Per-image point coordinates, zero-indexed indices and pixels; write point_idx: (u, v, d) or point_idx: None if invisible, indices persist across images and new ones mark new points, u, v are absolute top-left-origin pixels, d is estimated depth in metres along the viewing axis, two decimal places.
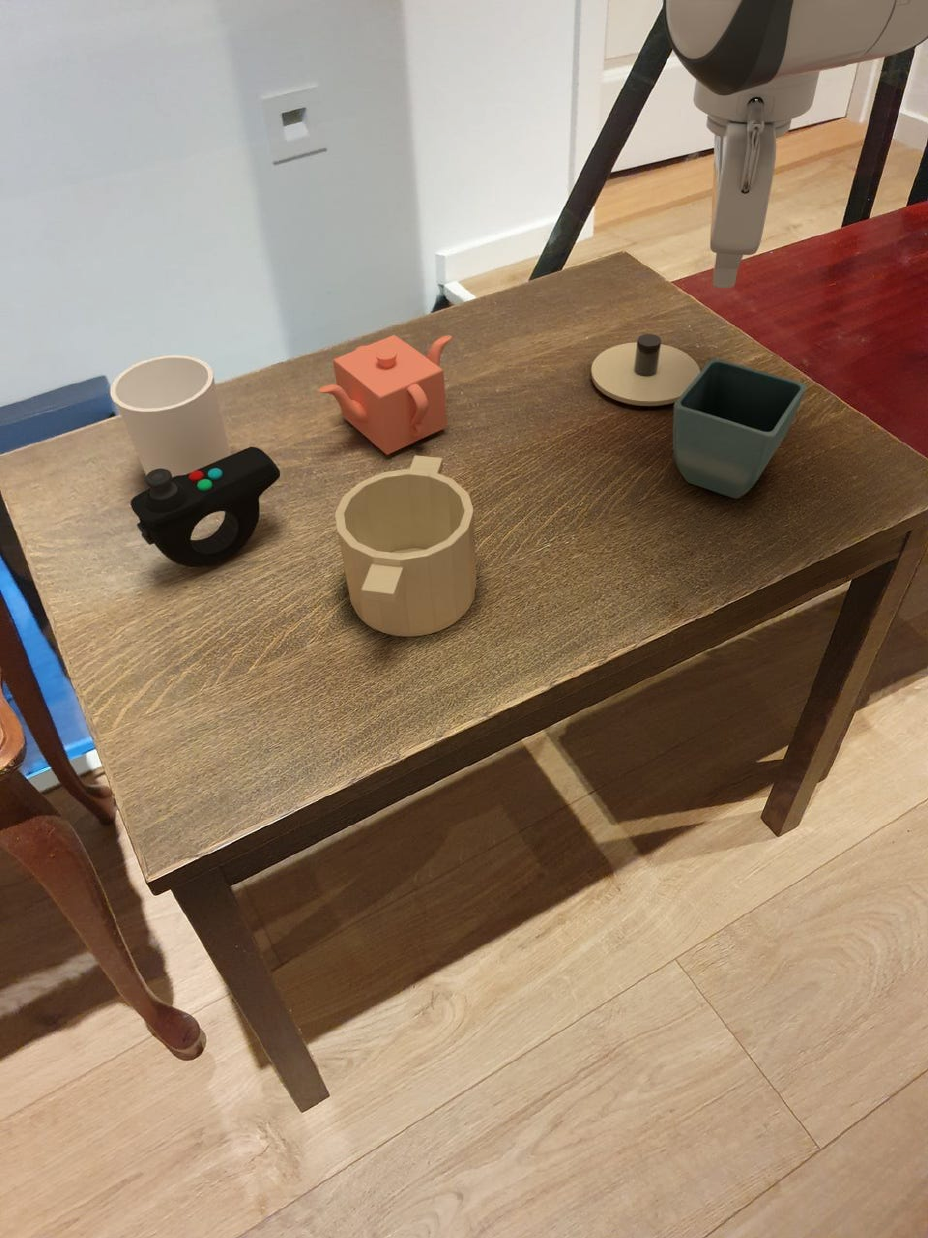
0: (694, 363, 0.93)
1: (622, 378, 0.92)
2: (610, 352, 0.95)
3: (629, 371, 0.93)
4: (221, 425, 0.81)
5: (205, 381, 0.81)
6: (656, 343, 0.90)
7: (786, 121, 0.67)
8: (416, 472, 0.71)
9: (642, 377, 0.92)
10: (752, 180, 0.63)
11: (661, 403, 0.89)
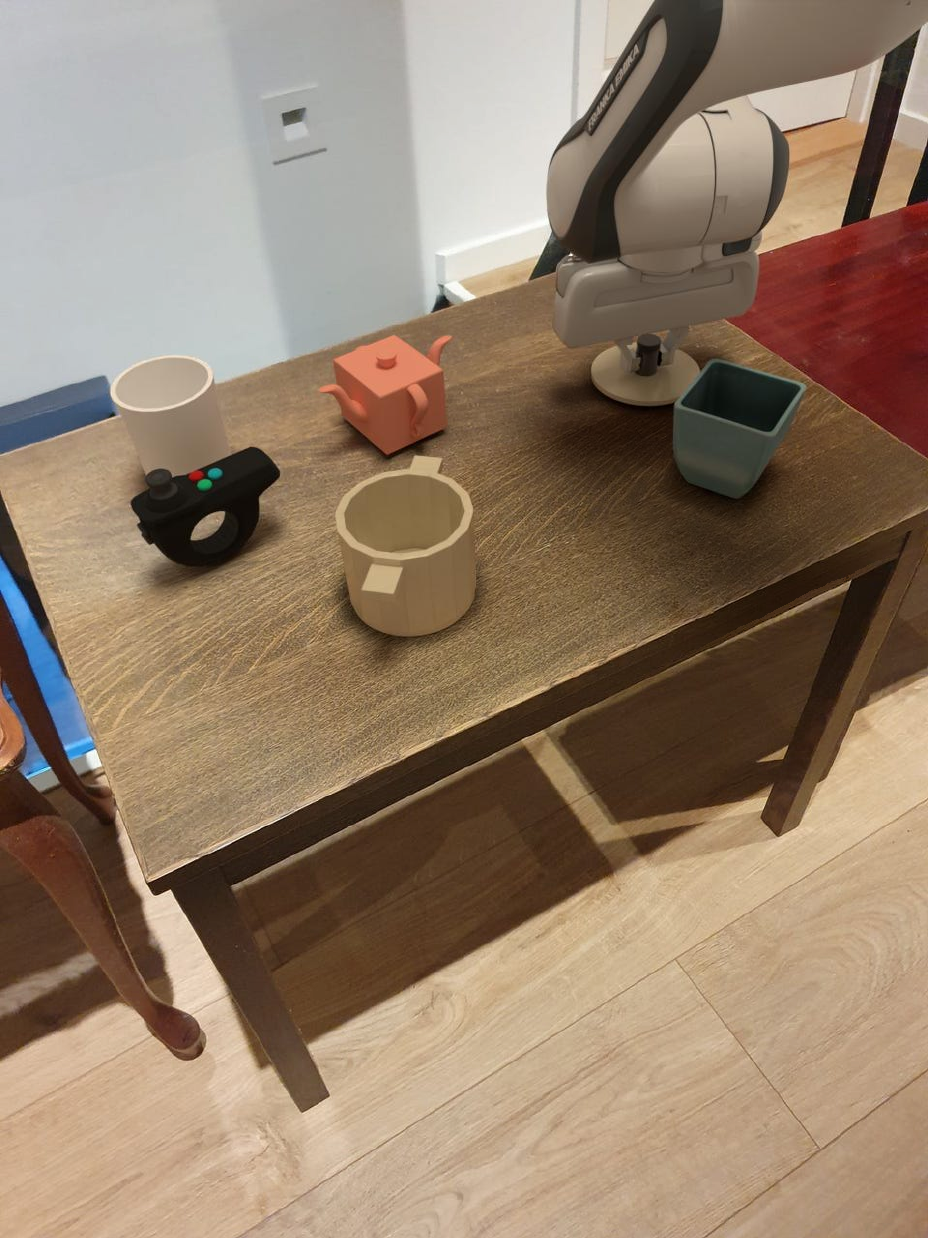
0: (694, 363, 0.93)
1: (622, 378, 0.92)
2: (610, 352, 0.95)
3: None
4: (221, 425, 0.81)
5: (205, 381, 0.81)
6: (655, 343, 0.90)
7: (655, 273, 0.82)
8: (416, 472, 0.71)
9: (642, 377, 0.92)
10: (557, 288, 0.83)
11: (661, 403, 0.89)
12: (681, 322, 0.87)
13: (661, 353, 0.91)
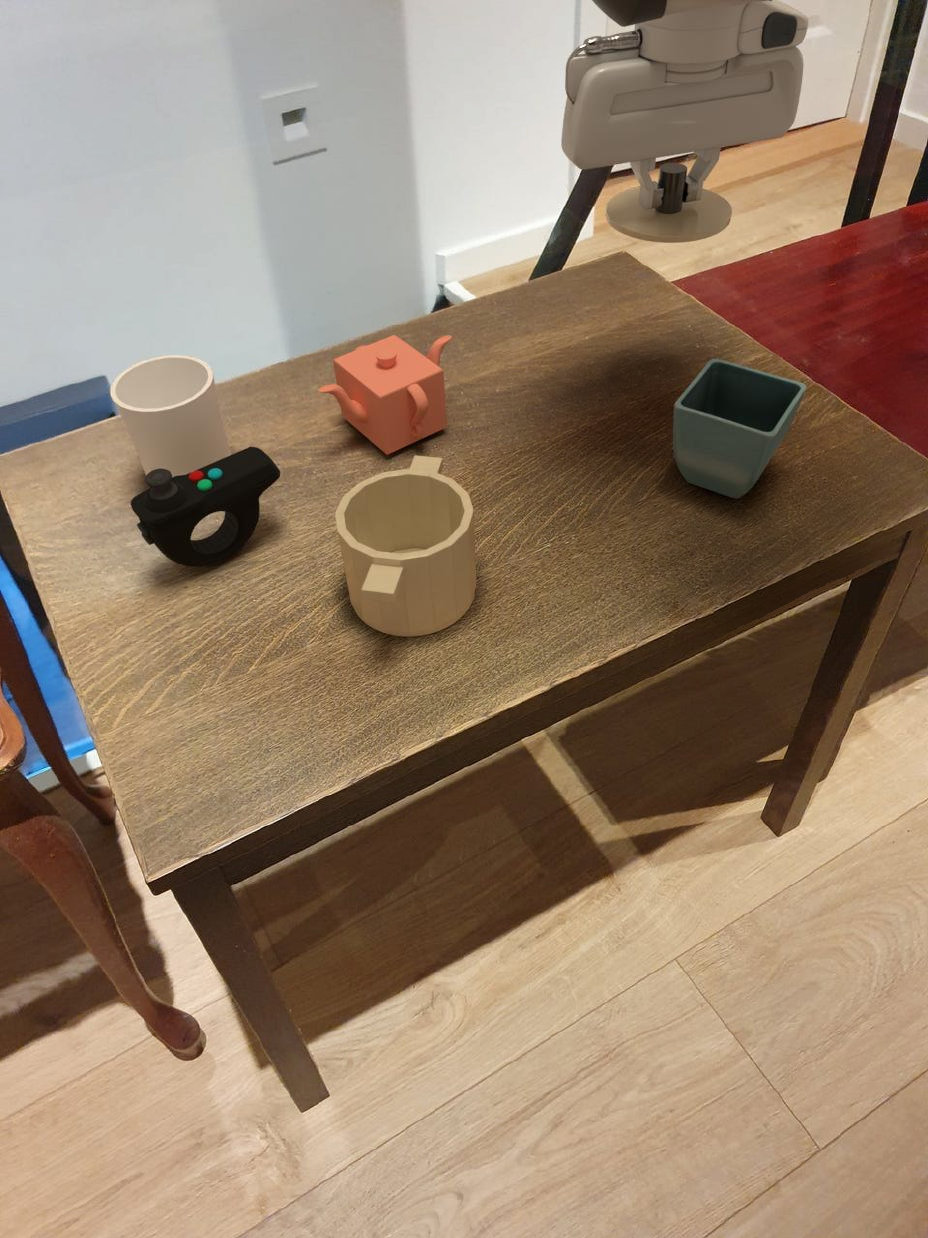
0: (724, 201, 0.81)
1: (641, 216, 0.80)
2: (628, 193, 0.83)
3: (650, 209, 0.80)
4: (221, 425, 0.81)
5: (205, 381, 0.81)
6: (681, 170, 0.77)
7: (682, 69, 0.70)
8: (416, 472, 0.71)
9: (665, 215, 0.80)
10: (568, 90, 0.71)
11: (687, 239, 0.77)
12: (711, 141, 0.75)
13: (687, 185, 0.79)
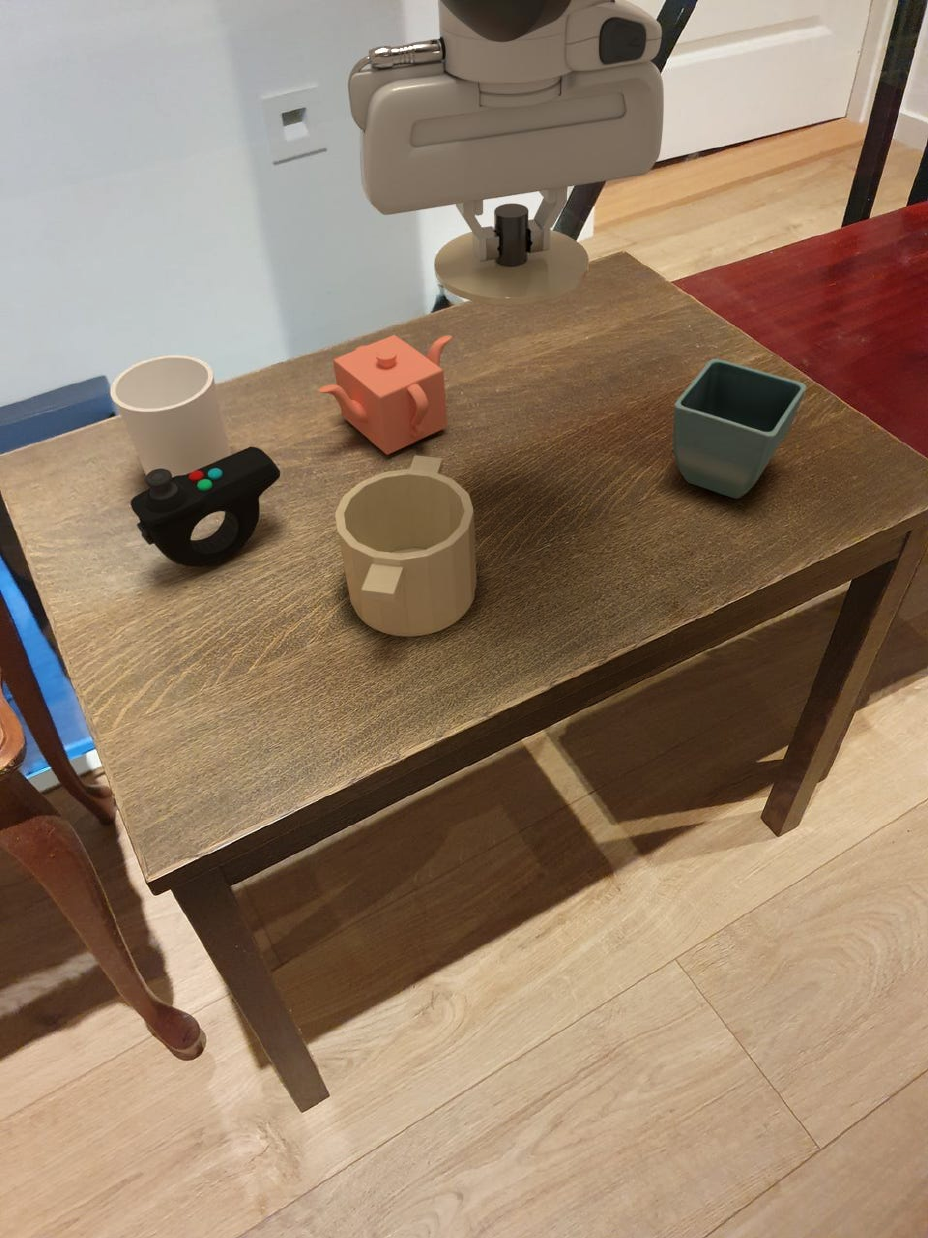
0: (582, 250, 0.65)
1: (475, 269, 0.64)
2: (467, 238, 0.67)
3: (488, 260, 0.65)
4: (221, 425, 0.81)
5: (205, 381, 0.81)
6: (519, 214, 0.61)
7: (498, 90, 0.54)
8: (416, 472, 0.71)
9: (504, 268, 0.64)
10: (354, 115, 0.55)
11: (526, 301, 0.61)
12: (552, 179, 0.59)
13: (530, 232, 0.63)
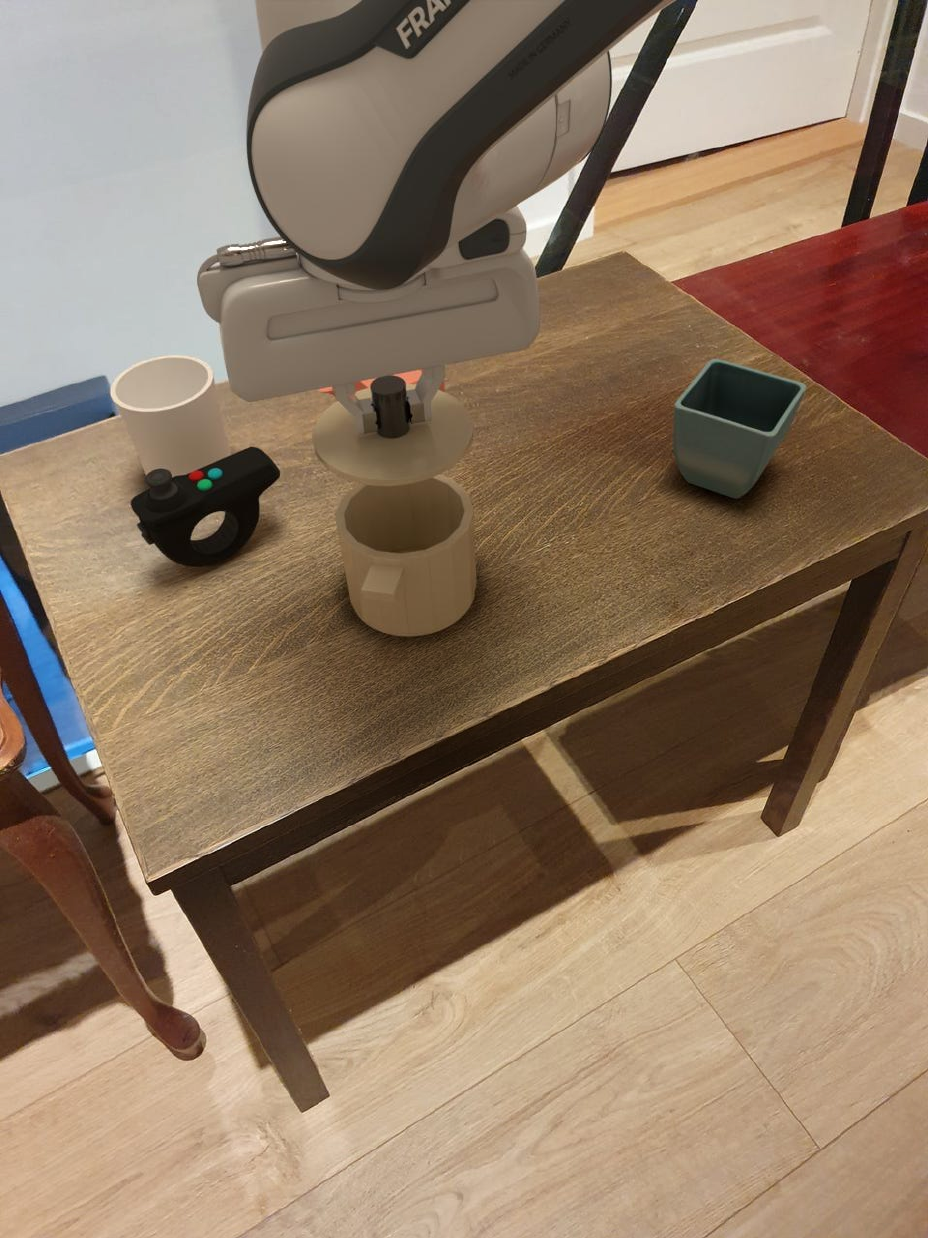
0: (467, 417, 0.63)
1: (354, 441, 0.61)
2: None
3: None
4: (221, 425, 0.81)
5: (205, 381, 0.81)
6: (395, 391, 0.59)
7: (355, 287, 0.51)
8: None
9: (384, 440, 0.61)
10: (206, 310, 0.52)
11: (402, 482, 0.59)
12: (425, 360, 0.57)
13: (409, 405, 0.60)
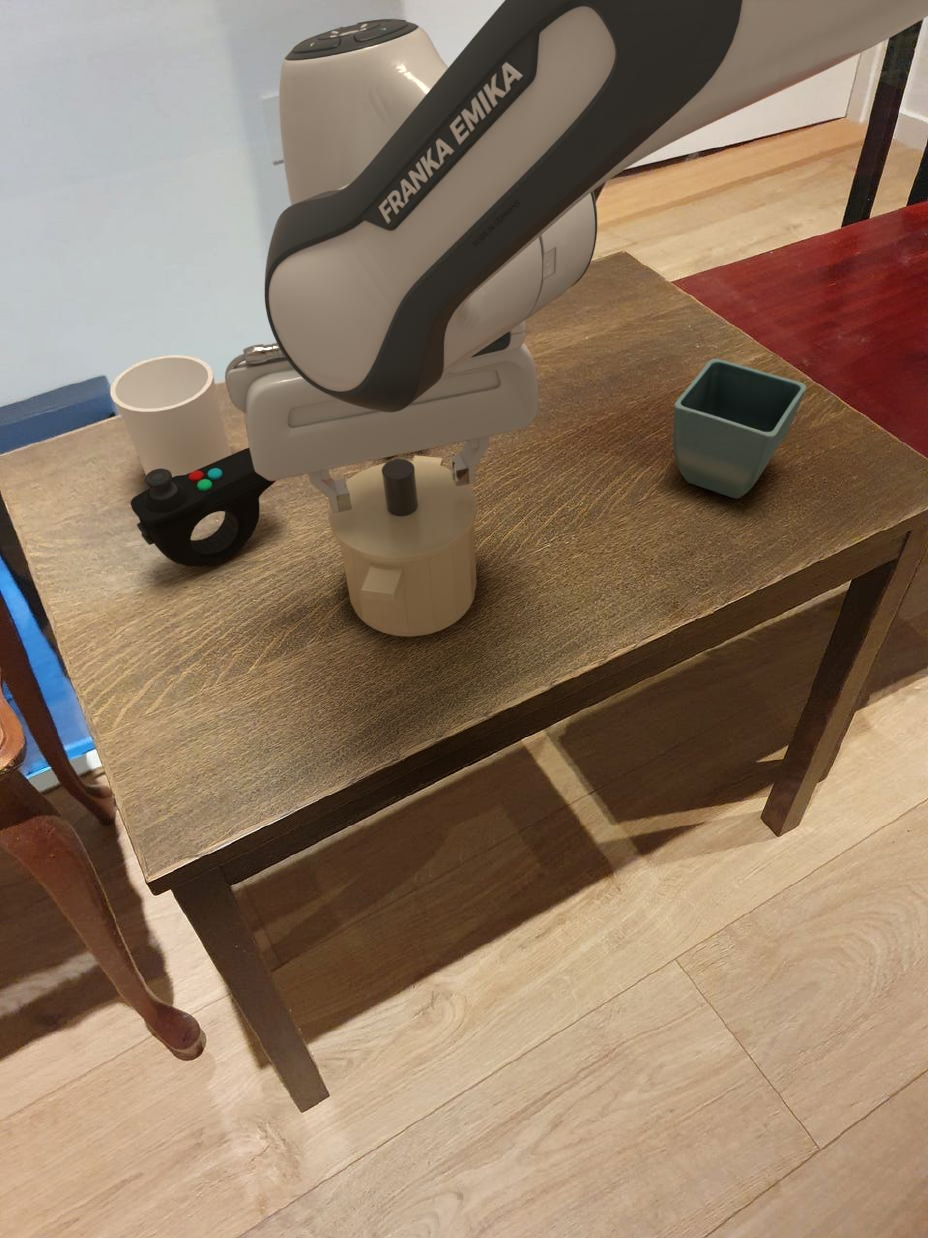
0: (471, 495, 0.68)
1: (367, 518, 0.66)
2: (363, 477, 0.70)
3: (380, 507, 0.67)
4: (221, 425, 0.81)
5: (205, 381, 0.81)
6: (405, 475, 0.64)
7: None
8: None
9: (394, 518, 0.66)
10: (233, 402, 0.57)
11: (411, 559, 0.64)
12: (433, 441, 0.62)
13: (455, 470, 0.65)
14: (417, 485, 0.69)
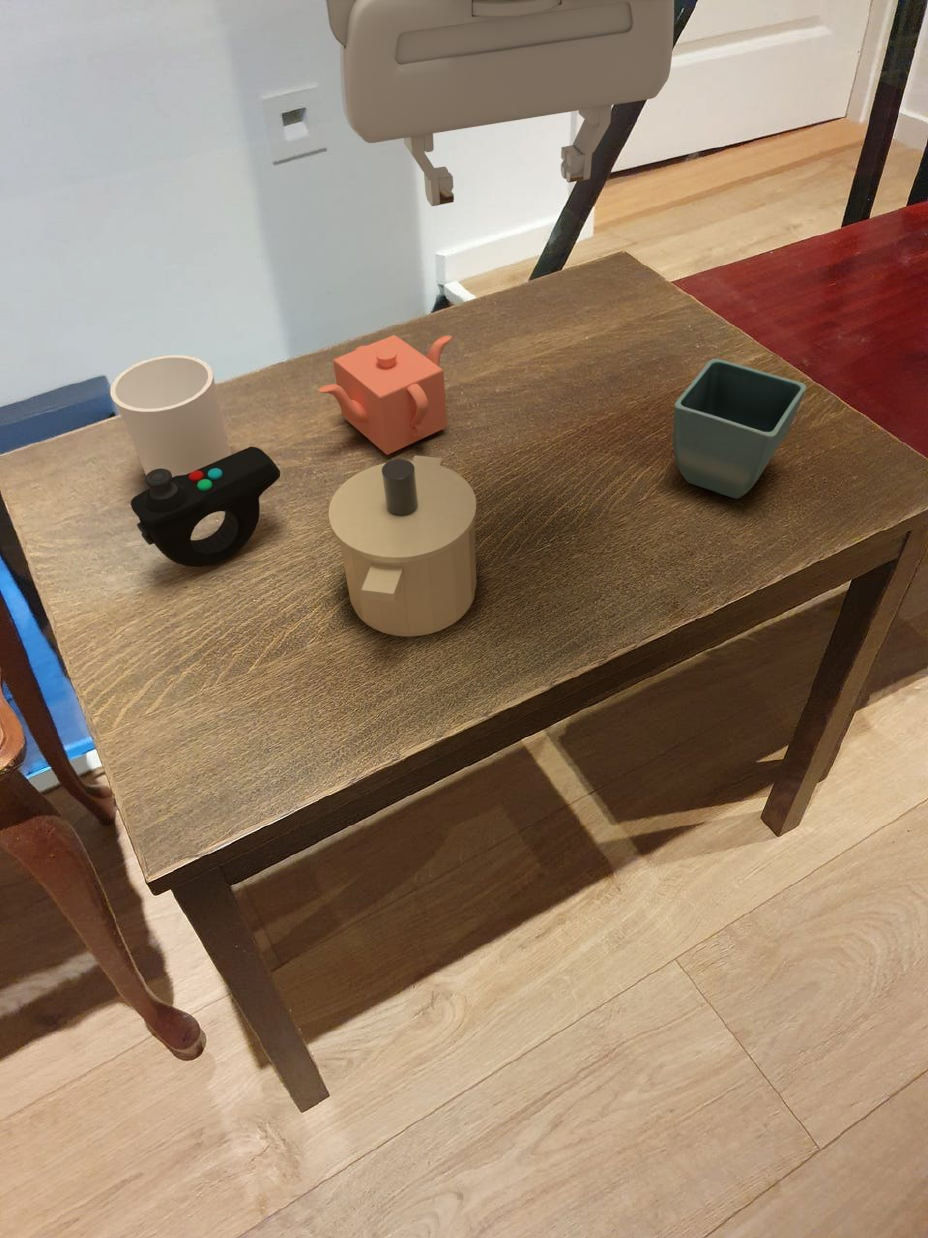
0: (471, 495, 0.68)
1: (367, 518, 0.66)
2: (363, 477, 0.70)
3: (380, 507, 0.67)
4: (221, 425, 0.81)
5: (205, 381, 0.81)
6: (405, 475, 0.64)
7: None
8: None
9: (394, 518, 0.66)
10: (333, 28, 0.49)
11: (411, 559, 0.64)
12: (552, 102, 0.54)
13: (570, 158, 0.58)
14: (417, 485, 0.69)
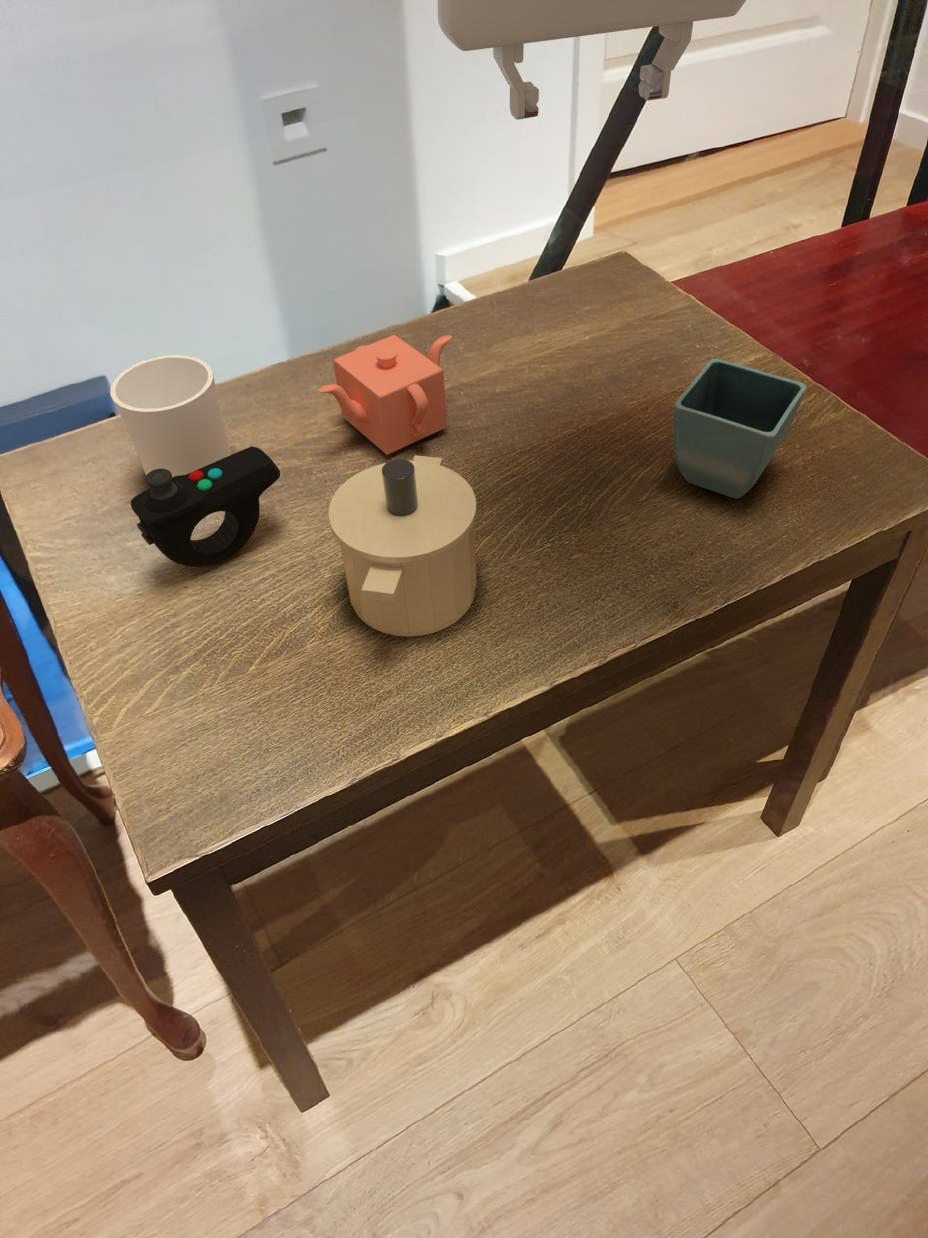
0: (471, 495, 0.68)
1: (367, 518, 0.66)
2: (363, 477, 0.70)
3: (380, 507, 0.67)
4: (221, 425, 0.81)
5: (205, 381, 0.81)
6: (405, 475, 0.64)
7: None
8: None
9: (394, 518, 0.66)
10: None
11: (411, 559, 0.64)
12: (639, 16, 0.56)
13: (650, 75, 0.60)
14: (417, 485, 0.69)
